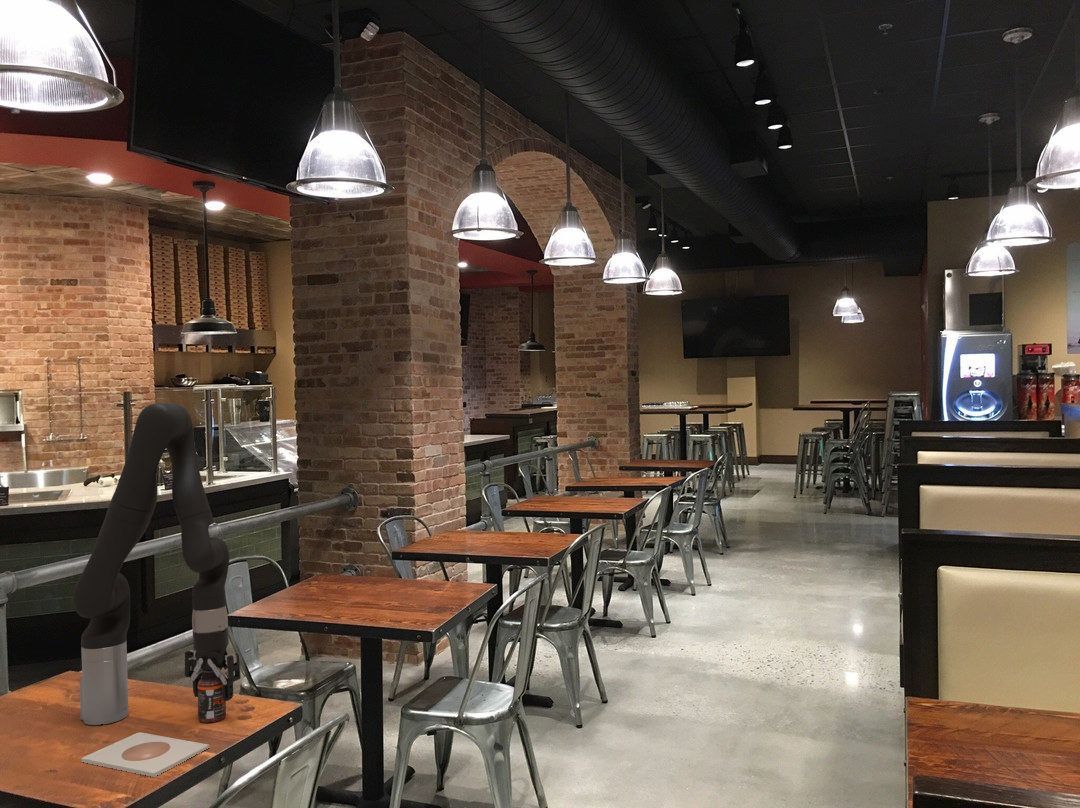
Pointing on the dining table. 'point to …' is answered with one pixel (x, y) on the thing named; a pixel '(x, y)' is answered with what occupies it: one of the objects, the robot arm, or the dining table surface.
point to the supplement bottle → (210, 698)
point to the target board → (145, 754)
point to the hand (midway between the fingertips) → (213, 697)
